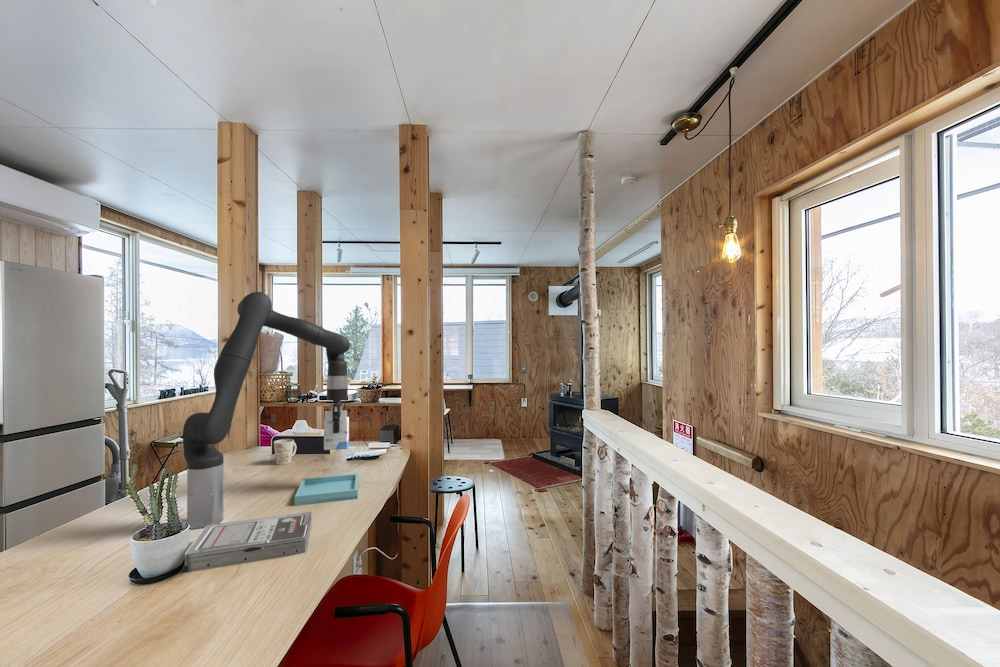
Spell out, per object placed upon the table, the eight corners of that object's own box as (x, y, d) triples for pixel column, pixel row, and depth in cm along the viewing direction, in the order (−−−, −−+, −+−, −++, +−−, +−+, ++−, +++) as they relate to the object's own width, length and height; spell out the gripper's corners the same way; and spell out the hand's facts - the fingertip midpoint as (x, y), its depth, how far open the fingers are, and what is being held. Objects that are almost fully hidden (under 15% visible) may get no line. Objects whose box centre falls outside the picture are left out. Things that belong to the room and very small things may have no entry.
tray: (357, 498, 151) (357, 489, 151) (294, 505, 145) (294, 496, 145) (358, 481, 170) (358, 473, 170) (302, 486, 164) (302, 478, 164)
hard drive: (206, 541, 121) (206, 525, 121) (311, 526, 130) (311, 511, 130) (182, 574, 103) (182, 555, 103) (306, 554, 112) (306, 537, 112)
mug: (269, 465, 194) (269, 442, 195) (287, 457, 207) (287, 436, 207) (286, 465, 193) (286, 443, 193) (303, 458, 205) (303, 437, 206)
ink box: (349, 446, 170) (349, 408, 170) (346, 449, 165) (347, 410, 165) (326, 447, 168) (327, 409, 169) (323, 450, 163) (324, 410, 164)
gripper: (347, 388, 162) (346, 434, 161) (348, 385, 175) (347, 428, 175) (325, 389, 159) (324, 435, 159) (328, 386, 173) (327, 429, 172)
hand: (336, 431), depth 167 cm, fingers closed on ink box, 5 cm apart
